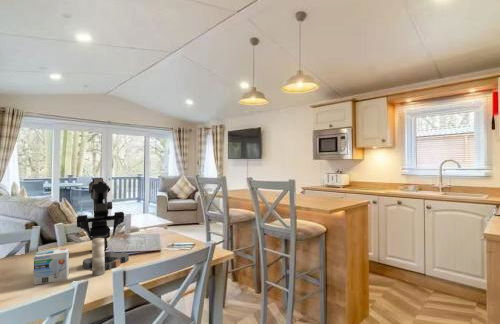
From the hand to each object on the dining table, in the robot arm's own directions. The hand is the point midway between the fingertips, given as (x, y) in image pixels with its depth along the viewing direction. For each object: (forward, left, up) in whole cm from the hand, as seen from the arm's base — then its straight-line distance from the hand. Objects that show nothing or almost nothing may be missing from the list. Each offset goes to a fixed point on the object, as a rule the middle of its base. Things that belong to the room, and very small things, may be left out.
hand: (102, 236), depth 123 cm
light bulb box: (-10, -15, -13) cm, 23 cm away
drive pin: (+4, -7, -13) cm, 15 cm away
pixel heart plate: (-1, +4, -13) cm, 14 cm away
